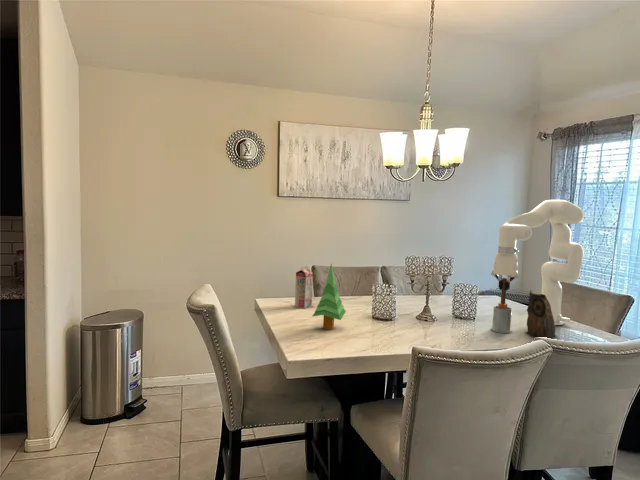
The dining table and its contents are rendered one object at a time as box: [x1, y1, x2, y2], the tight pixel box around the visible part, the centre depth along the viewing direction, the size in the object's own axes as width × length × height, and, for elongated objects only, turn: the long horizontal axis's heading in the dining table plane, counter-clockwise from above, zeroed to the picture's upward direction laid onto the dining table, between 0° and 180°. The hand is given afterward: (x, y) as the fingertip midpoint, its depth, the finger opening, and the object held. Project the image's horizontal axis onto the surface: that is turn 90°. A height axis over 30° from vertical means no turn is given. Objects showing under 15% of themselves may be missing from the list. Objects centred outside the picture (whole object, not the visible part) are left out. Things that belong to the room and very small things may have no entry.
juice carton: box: [294, 265, 314, 309], centre depth 247 cm, size 7×7×22 cm
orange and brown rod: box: [497, 277, 508, 310], centre depth 212 cm, size 4×4×19 cm
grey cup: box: [491, 305, 513, 334], centre depth 213 cm, size 8×8×11 cm
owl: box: [526, 290, 556, 339], centre depth 207 cm, size 13×13×20 cm
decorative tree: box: [312, 263, 347, 331], centre depth 204 cm, size 14×16×30 cm
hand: (503, 289), depth 212 cm, fingers closed on orange and brown rod, 2 cm apart
